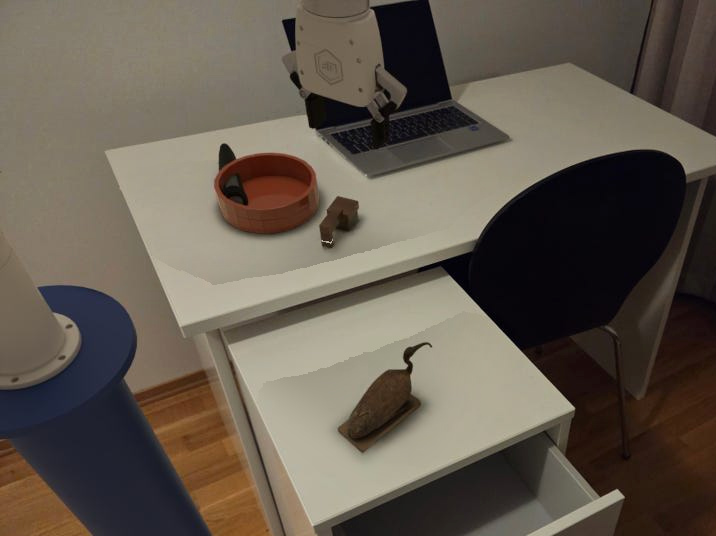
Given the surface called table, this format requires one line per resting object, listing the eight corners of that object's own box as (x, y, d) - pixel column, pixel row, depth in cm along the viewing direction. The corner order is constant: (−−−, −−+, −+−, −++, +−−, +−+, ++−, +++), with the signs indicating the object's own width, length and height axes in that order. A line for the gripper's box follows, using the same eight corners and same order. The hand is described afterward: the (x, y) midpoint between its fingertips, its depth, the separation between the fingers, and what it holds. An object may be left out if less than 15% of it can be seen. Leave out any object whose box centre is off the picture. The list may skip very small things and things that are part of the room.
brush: (337, 250, 97) (334, 229, 94) (315, 244, 98) (312, 223, 95) (360, 218, 103) (358, 197, 99) (339, 213, 103) (337, 192, 100)
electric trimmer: (239, 157, 111) (235, 140, 109) (250, 208, 102) (245, 191, 99) (216, 160, 110) (212, 143, 108) (225, 212, 101) (220, 195, 98)
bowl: (201, 219, 99) (193, 195, 96) (252, 168, 109) (246, 144, 106) (291, 243, 97) (287, 219, 94) (335, 188, 107) (332, 165, 104)
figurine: (418, 367, 83) (418, 321, 77) (443, 385, 82) (445, 340, 75) (336, 432, 76) (329, 387, 69) (362, 454, 74) (357, 410, 68)
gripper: (250, -11, 71) (277, 129, 84) (386, 25, 68) (392, 166, 81) (290, -32, 76) (309, 104, 89) (419, 2, 72) (419, 139, 85)
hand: (348, 134), depth 85 cm, fingers open, 9 cm apart
